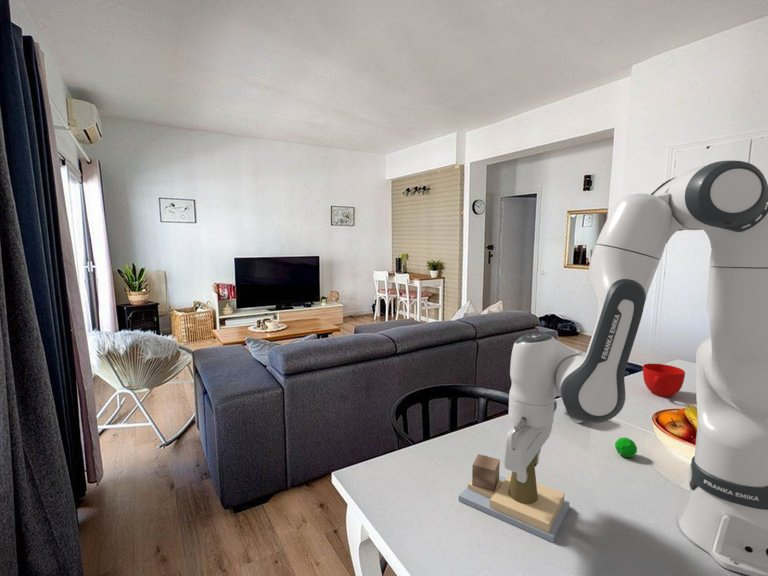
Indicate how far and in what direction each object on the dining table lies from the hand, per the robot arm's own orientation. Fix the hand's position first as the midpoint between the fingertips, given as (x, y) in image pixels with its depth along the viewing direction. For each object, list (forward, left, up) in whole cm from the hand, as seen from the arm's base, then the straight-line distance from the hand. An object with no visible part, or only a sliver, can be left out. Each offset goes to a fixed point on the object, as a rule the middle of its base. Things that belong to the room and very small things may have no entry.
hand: (527, 472), depth 83 cm
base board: (+3, 0, -9) cm, 9 cm away
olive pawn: (+1, 0, -6) cm, 6 cm away
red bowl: (-19, -95, -9) cm, 97 cm away
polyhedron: (-14, -38, -9) cm, 42 cm away
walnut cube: (+9, 0, -6) cm, 11 cm away
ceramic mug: (+1, -55, -9) cm, 56 cm away
